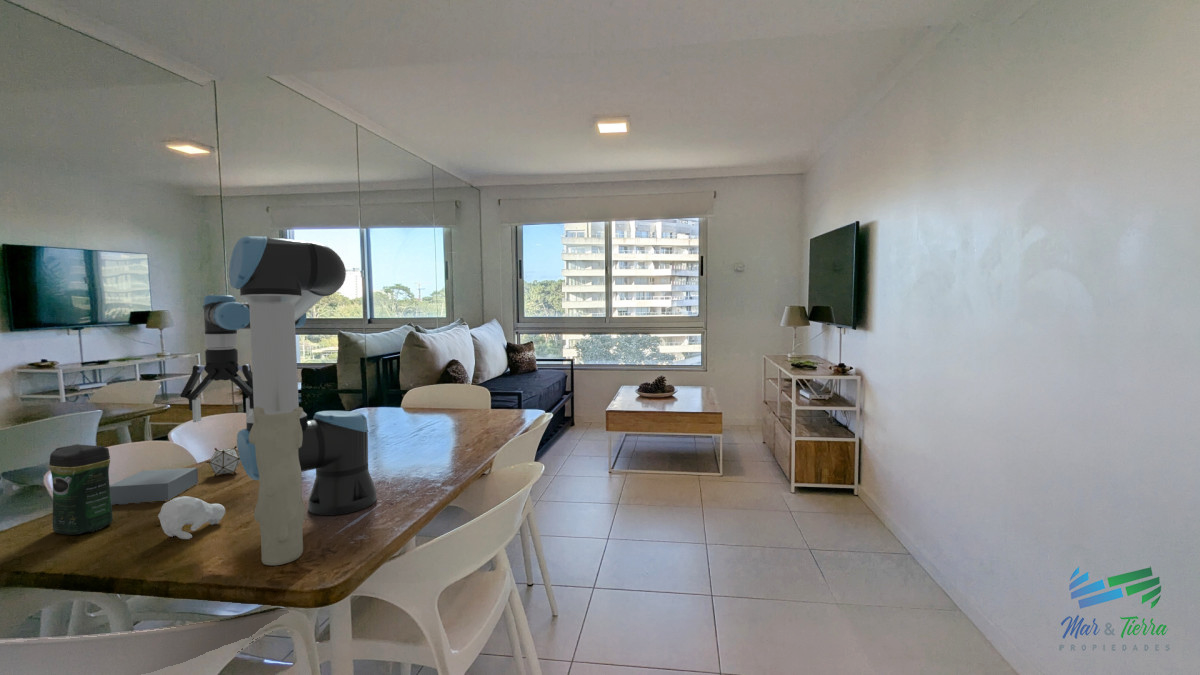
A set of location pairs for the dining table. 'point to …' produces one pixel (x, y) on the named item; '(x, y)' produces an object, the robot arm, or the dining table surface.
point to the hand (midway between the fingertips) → (223, 420)
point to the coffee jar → (80, 488)
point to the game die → (225, 461)
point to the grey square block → (153, 485)
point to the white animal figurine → (188, 515)
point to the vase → (279, 484)
